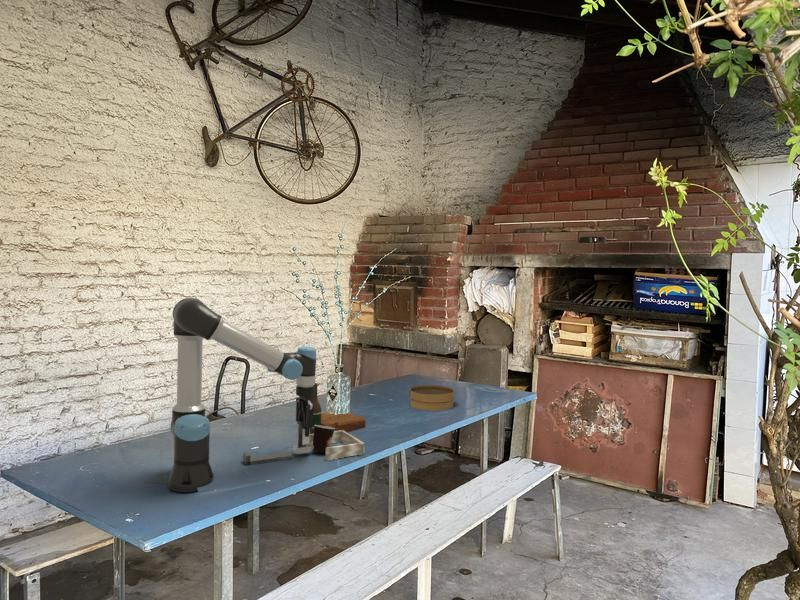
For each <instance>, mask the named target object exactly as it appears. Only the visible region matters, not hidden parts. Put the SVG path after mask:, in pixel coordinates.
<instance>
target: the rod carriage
mask: <svg viewBox="0 0 800 600" xmlns="http://www.w3.org/2000/svg"><path fill="white" fill-rule="evenodd" d="M303 427H304V420H302V421H299V423H298V424H297V437H298V441H297V444H294V445H292V452H293V453H294V454H295V455H300V454H306V453H307V454H308V453H311V451H313V450H314V445H308V444H305V445H303V444H302V438H303V429H302V428H303ZM326 447H331V444H330V440H326Z"/></svg>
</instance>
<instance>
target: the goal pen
mask: <svg viewBox="0 0 800 600" xmlns="http://www.w3.org/2000/svg"><path fill="white" fill-rule="evenodd" d="M313 436H314V434H310V437H309V444H308V445H313ZM337 442H338V443H343V444H342V445H335V446H330V447H326V453H325V458H324V459H325V460H324V461H334V460H333V459H335V460H339V459H338V458H342V459H345V458H344V457H348V456H353V455H359V454H364V455H365V451H366V450H365V446H366V445H365V444H366V443H365V442H363V441H362V440H360V439H359V438H357V437H355V436H354V435H352V434H351V433H349V432H345V431H344V430H339V431H334V433H333V437H332V440H331V443H330V445H331V444H337ZM348 458H349V457H348Z"/></svg>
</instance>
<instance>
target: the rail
mask: <svg viewBox="0 0 800 600" xmlns="http://www.w3.org/2000/svg"><path fill="white" fill-rule="evenodd" d="M291 459H293V454H291V453H290V452H289V451H287V452H282V453H281V452H280V453H274V454H266V455H260V456H252V457H251V454H250V453H249V452H248V451H244V452H242V463H243V464H244V465H245V466H250V465H256V464H257V465H258V464H263V463H264V464H265V463H270V462H271V463H272V462H277V461H285V460H291Z"/></svg>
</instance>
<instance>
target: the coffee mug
mask: <svg viewBox="0 0 800 600" xmlns="http://www.w3.org/2000/svg"><path fill="white" fill-rule="evenodd" d="M334 430H335V428H332V427H328V426H322V425H314V436H313V445H314V450H312V451H313V452H316V453H321V454H326V440H330V443H331V440H332V437H333V433H334Z"/></svg>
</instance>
